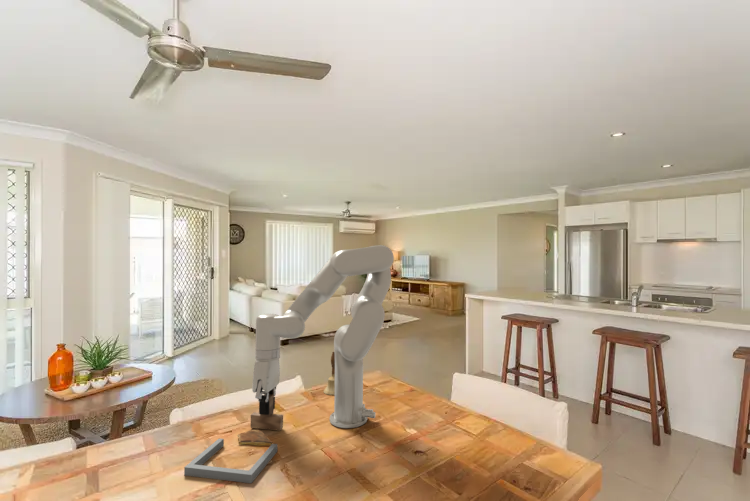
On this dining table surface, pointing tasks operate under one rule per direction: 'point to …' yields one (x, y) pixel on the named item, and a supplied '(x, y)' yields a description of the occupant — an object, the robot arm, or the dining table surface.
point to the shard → (254, 438)
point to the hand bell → (331, 378)
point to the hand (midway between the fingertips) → (267, 411)
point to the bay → (237, 475)
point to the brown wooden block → (267, 418)
